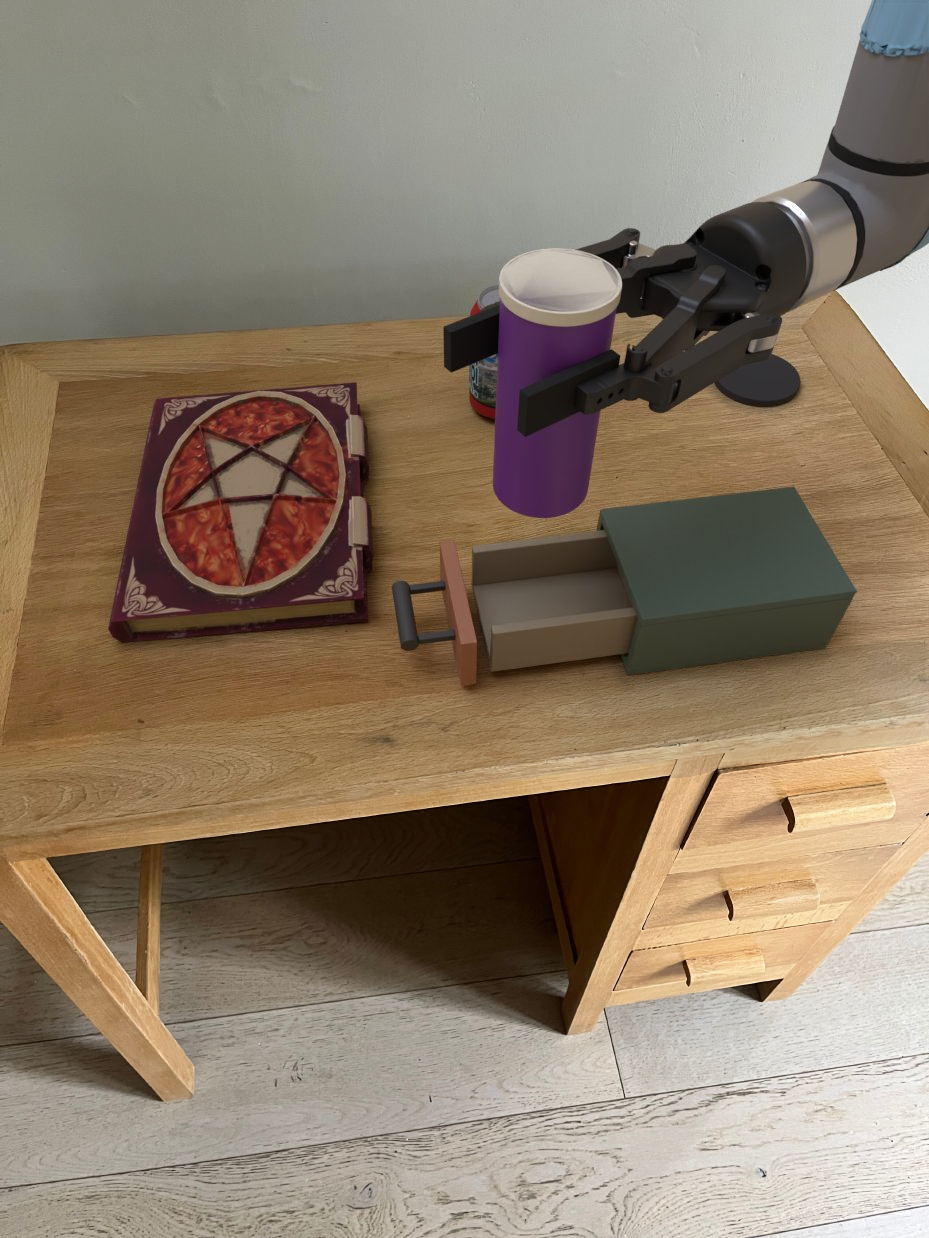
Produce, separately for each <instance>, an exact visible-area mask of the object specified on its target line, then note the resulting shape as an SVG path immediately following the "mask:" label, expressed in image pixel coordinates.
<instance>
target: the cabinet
mask: <svg viewBox="0 0 929 1238" xmlns="http://www.w3.org/2000/svg"><path fill="white" fill-rule="evenodd" d="M600 530H605V532H606V535H607V538H608V540H609V543H610V546H611V548H612V551H613V553H614V556H615V559H616V561H617V564H618V567H619V569H620V572H621V575H622V577H623V580H624V582H625V585H626V588H627V590H628V593H629V596H630V598H631V601H632V604H633V606H634V609H635V611H636V614H637V617H638V619H637V623H636V627H635V631H634V635H633V639H632V643H631V646H630V650H629V653H625V654H619V655H620V658H621V660H622V663H623V667H624V669H625V672H626V675H627V676H634V675H635V676H636V675H641V674H649V673H655V672H656V673H657V672H665V671H671V670H676V669H678V670H679V669H684V668H690V667H691V668H692V667H698V666H706V665H713V664H720V663H727V662H734V661H741V660H750V659H756V658H763V657H770V656H776V655H784V654H792V653H800V652H806V651H814V650H820V649H826V648H827V646H828V644H829V643H830V641H831V639H832V638H833V635H834V634H835V632H836V630H837V628H838V626H839V625H840V623H841V621H842V619H843V617H844V616H845V614H846V612H847V611H848V609H849V607H850V605H851V603H852V602H853V599H854V597H855V596H856V594H857V592H858V591H857V589H856V587H855V585H854V584H853V582H852V580H851V578H850V577H849V575H848V573H847V572H846V570H845V568H844V567H843V565H842V564H841V562H840V561H839V558H838V557H837V555H836V554H835V552H834V551H833V548H832V547H831V545H830V544H829V542H828V540H827V539H826V537H825V535H824V534H823V532H822V530H821V528H820V527H819V525H818V523H817V522H816V520H815V518H814V517H813V515H812V514H811V512H810V510H809V508H808V507H807V505H806V503H805V502H804V500H803V498H802V497H801V495H800V494H799V492H798V491H797V489H796V487H795V486H787V487H786V486H785V487H778V488H770V489H768V488H767V489H761V490H753V491H743V492H736V493H735V492H734V493H727V494H726V493H725V494H717V495H710V496H700V497H693V498H685V499H684V498H683V499H676V500H666V501H657V502H650V503H642V504H634V505H633V504H632V505H624V506H616V507H615V506H614V507H607V508H601V509H599V515H598V521H597V525H596V530H595V531H600Z"/></svg>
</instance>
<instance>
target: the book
mask: <svg viewBox="0 0 929 1238" xmlns="http://www.w3.org/2000/svg"><path fill="white" fill-rule="evenodd" d="M149 421H150V422H149V426H148V430H147V435H146V440H145V445H144V450H143V456H142V460H141V465H140V470H139V474H138V480H137V485H136V489H135V495H134V498H133V499H134V500H133V504H132V509H131V512H130V513H131V514H130V517H129V524H128V527H127V533H126V539H125V543H124V549H123V553H122V558H121V563H120V564H121V565H120V569H119V572H118V573H119V574H118V578H117V583H116V588H115V591H114V598H113V603H112V606H111V613H110V617H109V622H108V627H107V630H108V631H109V633H110V636H111V637H112V638H113V639H115V640H117V641H119V642H121V643H133V642H143V641H154V640H155V641H156V640H164V639H166V640H167V639H176V638H189V637H200V636H211V635H222V634H223V635H224V634H233V633H234V634H235V633H246V632H257V631H258V632H259V631H268V630H269V631H270V630H280V629H291V628H302V627H303V628H305V627H313V626H314V627H315V626H327V625H336V624H337V625H338V624H347V623H358V622H359V623H361V622H368V621H369V611H368V610H369V609H368V608H369V607H368V583H367V573H369V572H370V571H372V570H373V561H374V549H373V548H374V546H373V544H374V543H373V522H372V521H373V520H372V509H371V506H370V503H369V501H368V498H366V497H364V484H366V483H367V482H369V474H370V458H369V457H370V455H369V435H368V434H369V433H368V426H367V424H366V421H365V418H364V417H363V416H361V405H360V403H358V383H357V382H356V381H353V382H343V383H331V384H330V383H329V384H317V385H305V386H293V387H281V388H269V389H268V388H267V389H260V390H259V389H257V390H245V391H235V392H222V393H219V392H218V393H208V394H197V395H185V396H182V395H181V396H172V397H171V396H170V397H159V398H158V397H157V398H156V399H155V401H154V403H153V406H152V410H151V415H150V420H149Z"/></svg>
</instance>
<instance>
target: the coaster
mask: <svg viewBox="0 0 929 1238" xmlns="http://www.w3.org/2000/svg"><path fill="white" fill-rule="evenodd" d="M713 384H714V385H715V386H716V388H717V389H718V390H719V391H720V392H721V393H722V394H723V395H725V396H726V397H728V398H730V399H731V400H733V401H735V402H738V403H741V404H744V405H748V406H753V407H761V408H762V407H766V408H767V407H777V406H780V405H783V404H786V403H788V402H790V401H791V400H792V399H794V397H795V396H796V395H797V394H798V392H799V389H800V386H801V376H800V373H799V371H798V370H797V368H796V367H795V366H793V364H792V363H790V362H789V361H788V360H786V359H785V358H782V357H780V356H779V355H776V354H774V353H772V354H771V357H770V358H769V359H767V360H763V361H759V362H755V363H750V364H746V365H742V366H741V367H739V368H737V369H736V370H734V371H732V372H731V373H729V374H728V375H726V376H724V377H723V378H721V379H719V380H718V381H716V382H714V383H713Z"/></svg>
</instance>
